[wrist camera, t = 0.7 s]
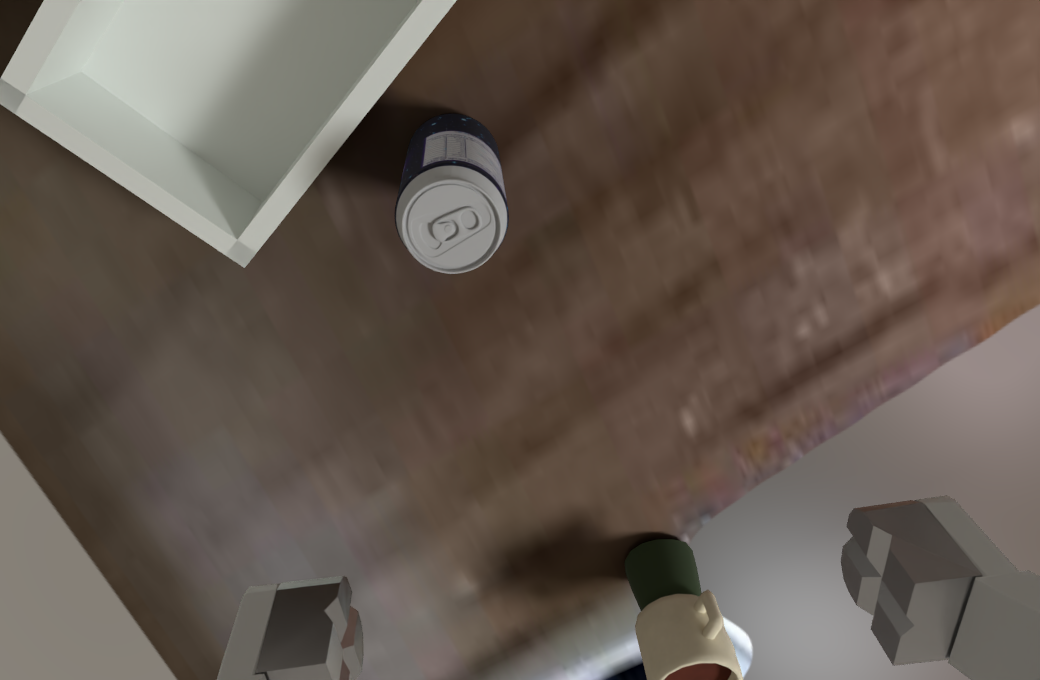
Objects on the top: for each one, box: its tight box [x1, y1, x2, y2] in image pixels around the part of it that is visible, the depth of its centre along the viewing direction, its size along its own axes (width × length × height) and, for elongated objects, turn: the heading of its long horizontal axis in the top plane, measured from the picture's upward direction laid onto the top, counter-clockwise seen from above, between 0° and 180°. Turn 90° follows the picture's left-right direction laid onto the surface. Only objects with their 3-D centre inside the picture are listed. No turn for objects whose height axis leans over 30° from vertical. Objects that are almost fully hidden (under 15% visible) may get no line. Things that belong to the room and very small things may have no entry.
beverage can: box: [395, 114, 509, 274], centre depth 40 cm, size 6×6×12 cm
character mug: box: [625, 539, 743, 680], centre depth 60 cm, size 11×7×13 cm, turn 163°
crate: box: [0, 0, 456, 268], centre depth 37 cm, size 22×14×7 cm, turn 137°
